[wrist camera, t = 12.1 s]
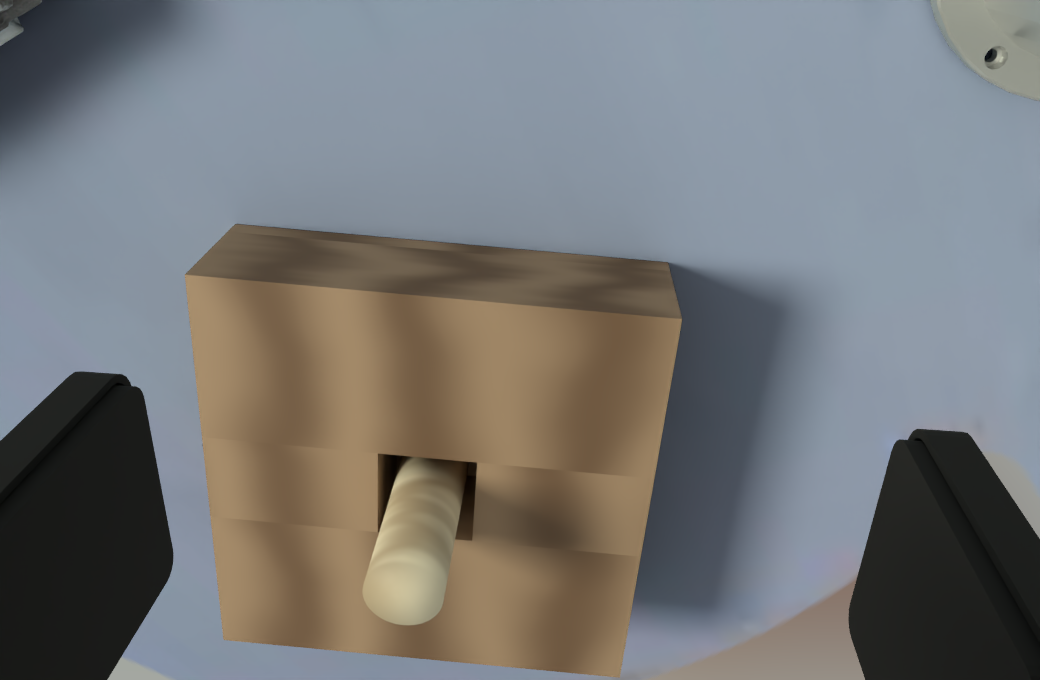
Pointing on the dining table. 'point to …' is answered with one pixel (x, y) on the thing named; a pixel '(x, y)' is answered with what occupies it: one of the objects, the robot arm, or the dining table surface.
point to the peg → (416, 541)
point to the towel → (13, 17)
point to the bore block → (431, 436)
